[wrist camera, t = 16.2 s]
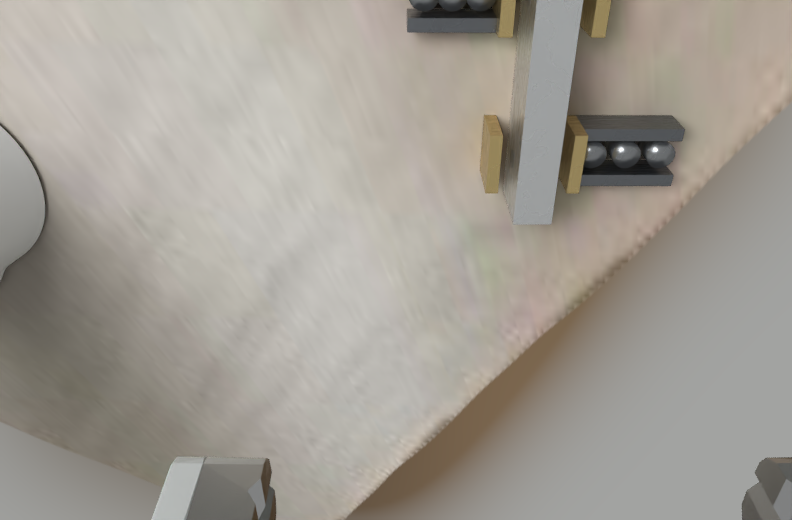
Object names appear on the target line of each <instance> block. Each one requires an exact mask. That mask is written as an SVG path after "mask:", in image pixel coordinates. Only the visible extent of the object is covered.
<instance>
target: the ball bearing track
mask: <svg viewBox="0 0 792 520" xmlns="http://www.w3.org/2000/svg"><path fill="white" fill-rule="evenodd" d="M409 1H410V3H411V5H412V6H413V7H414V8H415V9H407V32H496V33H497V35H498V37H513V27H514V16H515V6H516V0H409ZM438 2H439V4H440V5H441V7H442V8H444V9H433V8H434V7H435V6H436V5H437V3H438ZM466 2H467V3H468V5H469V6H470V7H471V8H472V9H461V8H462V7H463V6H464V5H465V4H466ZM610 5H611V0H583V6H582V13H581V20H580V26H581V27H582V28H583V29H584V30H585V31H586V33H587V34H588V35H589V36H590V37H591V38H605V35H606V29H607V23H608V17H609V11H610ZM491 7H492V9H489V8H491ZM684 131H685V129H684V128H683V127H682V126H681V125H680V124H679V122H678V121H677V120H676V119H675V118H674V117H673V116H592V115H567V118H566V125H565V132H564V139H563V146H562V153H561V160H560V167H559V174H558V176H559V178H560V180H561V182H562V185H563V187H564V189H565V191H566V193H579V189H580V186H671V183H672V179H673V174H672V172H671V171H670V170H669V169H668V167H667V165H669V164H670V163H671V162H672V161H673V159H674V157H675V149H674V147H673V146H672V145H671V144H670V143H669V142H668V141H682V139H683V135H684ZM601 141H606V142H605V147H604V146H603V144H602V143H601ZM635 141H639V142H638V145H637V144H636V143H635ZM502 143H503V134H502V131H501V128H500V125H499V122H498V119H497V116H496V115H484V124H483V137H482V150H481V163H480V172H481V177H482V181H483V185H484V189H485V193H498V186H499V175H500V165H501V154H502ZM606 151H607V153H608V154H609V156H610V157H611V159H612V160H605V158H606ZM641 154H642V155H643V157H644V158H645V159H646V160H639V159H640V156H641Z"/></svg>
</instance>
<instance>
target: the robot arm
mask: <svg viewBox="0 0 792 520" xmlns="http://www.w3.org/2000/svg"><path fill="white" fill-rule="evenodd" d="M44 219H45V200H44V194H43V190H42V186H41V183H40V181H39V178H38V176H37V173H36V171H35V169H34V167H33V165H32V163H31V162H30V160H29V159H28V157H27V156H26V154H25V153H24V151H23V150H22V149H21V147H20V146H19V145H18V143H17V142H16V141H15V140H14V139H13V138H12V137H11V136H10V135H9V134H8V133H7V132H6V131H5V130H4V129H3V128H2V127H1V126H0V281H1V279H2V277H3V274H4V271H5V269H6V268H7V267H8V266H9V265H10V264H11V263H13V262H14V261H16V260H17V259H18V258H20V257H21V256H23V255H24V254H25V253H26V252H27V251H28V250H29V249H30V248H31V247H32V246H33V245H34V244H35V242H36V241H37V239H38V237H39V235H40V233H41V231H42V228H43V224H44ZM271 473H272V471H271V466H270V461H269V459H267V458H236V457H181V456H177V457H176V459H175V460H174V461H173V463H172V464H171V466H170V469H169V471H168V474H167V477H166V480H165V483H164V485H163V488H162V491H161V494H160V497H159V500H158V502H157V505H156V508H155V511H154V513H153V516H152V519H151V520H276V498H275V490H274V489H273V488H271V487H270V486H269V484H270V479H271ZM755 474H756V476H757V478H758V480H759V481H760V482H759V483H757V484H756V485H754V486H753V487H751V488H750V489H748V490H747V492H746V494H745V497H744V500H743V502H742V520H792V457H791V458H789V457H788V458H785V457H784V458H765V459H764V460H762V461H761V462H760V463H759V465H758V467H757V469H756V471H755Z"/></svg>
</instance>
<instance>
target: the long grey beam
mask: <svg viewBox="0 0 792 520" xmlns="http://www.w3.org/2000/svg"><path fill="white" fill-rule="evenodd" d="M582 6H583V0H521V5H520V15H519V26H518V37H517V47H516V58H515V68H514V79H513V89H512V100H511V111H510V121H509V132H508V142H507V153H506V163H505V174H504V185H503V193H504V196H505V199H506V203H507V206H508V209H509V213H510V216H511V219H512V223H513V224H551V223H552V216H553V209H554V202H555V195H556V188H557V181H558V174H559V167H560V160H561V153H562V146H563V139H564V132H565V125H566V118H567V111H568V104H569V97H570V90H571V83H572V76H573V69H574V62H575V55H576V48H577V41H578V34H579V27H580V20H581V13H582Z"/></svg>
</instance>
